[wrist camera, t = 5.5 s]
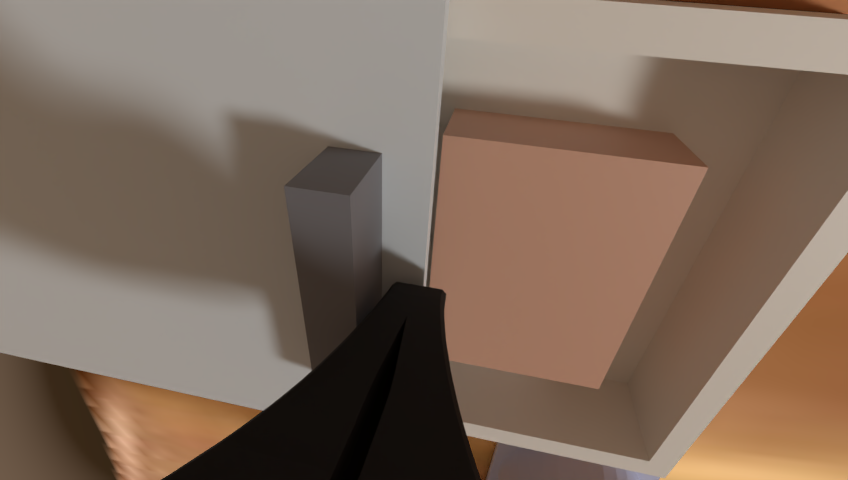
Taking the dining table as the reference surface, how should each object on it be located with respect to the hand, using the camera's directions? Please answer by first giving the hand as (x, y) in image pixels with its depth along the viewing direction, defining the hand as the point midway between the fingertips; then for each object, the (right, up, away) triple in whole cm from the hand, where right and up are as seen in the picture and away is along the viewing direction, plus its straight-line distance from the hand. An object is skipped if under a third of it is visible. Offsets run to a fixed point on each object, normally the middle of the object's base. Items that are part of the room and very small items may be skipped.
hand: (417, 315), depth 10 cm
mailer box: (+1, +3, +4) cm, 5 cm away
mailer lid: (-9, +2, +2) cm, 9 cm away
